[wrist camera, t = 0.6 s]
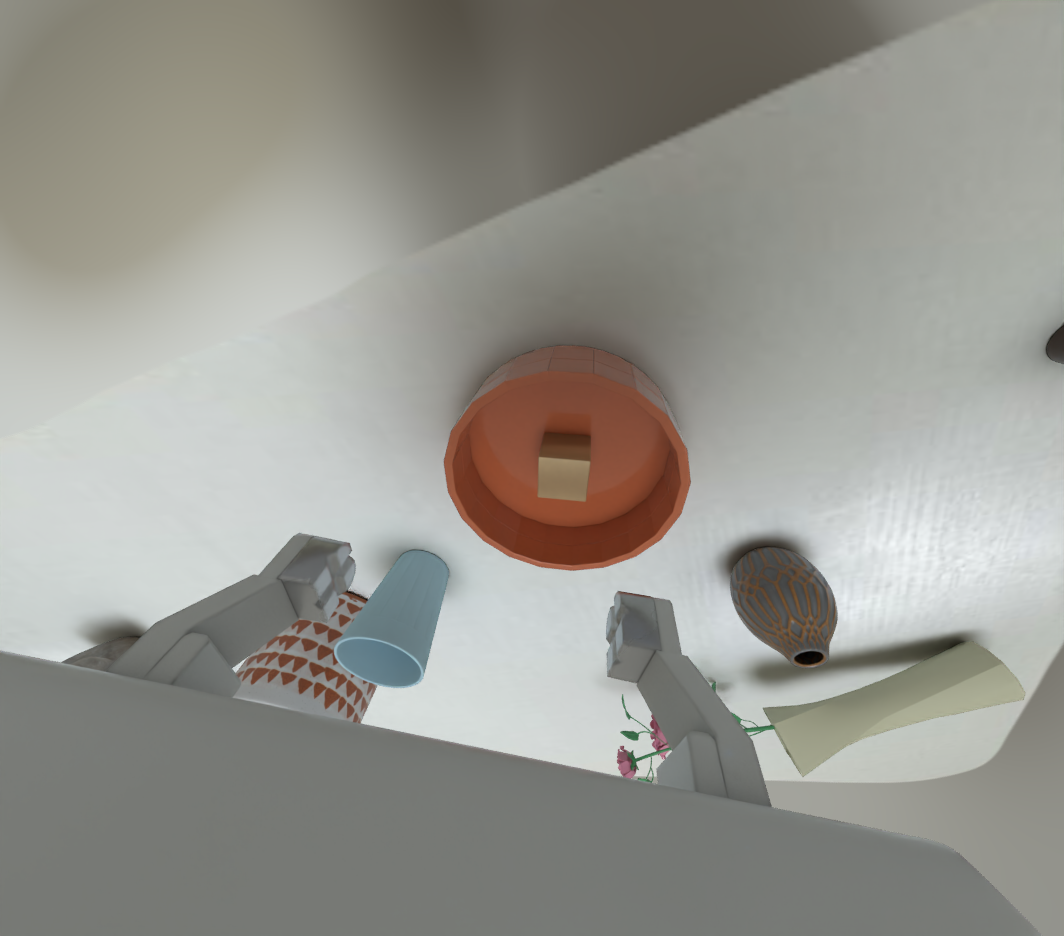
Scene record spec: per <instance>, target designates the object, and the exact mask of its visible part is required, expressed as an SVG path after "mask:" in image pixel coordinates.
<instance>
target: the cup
mask: <svg viewBox="0 0 1064 936" xmlns="http://www.w3.org/2000/svg"><path fill="white" fill-rule="evenodd" d="M448 576H449V571H448V568H447V566H446V565H445V563H444V562H443V561H442V560H441V559H440V558H438V557H437V556H435V555H433V554H431V553H429V552H425V551H420V550H412V551H408V552H405V553H404V554H402V555H401V556H400V557H399V559H398V560H397V561H396V563H395V564H394V566H393V567H392V568H391V570H390V571H389V572H388V574H387V575H386V576H385V578H384V579H383V581H382V582H381V583H380V585H379V586H378V587H377V589H376V590H375V592H374V593H373V594H372V596H371V597H370V599H369V600H368V601H367V603H366V604H365V605H364V607H363V608H362V610H361V611H360V612H359V614H358V615H357V616H356V618H355V619H354V621H353V622H352V623H351V624H350V626H349V627H348V628H347V630H346V631H345V632H344V634H343V635H342V637H341V638H340V639H339V641H338V642H337V643H336V645H335V647H334V655H335V657H336V659H337V661H338V662H339V664H340V665H341V666H342V667H343V668H345V669H346V670H347V671H348V672H350V673H351V674H353V675H355V676H356V677H358V678H360V679H362V680H365V681H367V682H370V683H373V684H376V685H380V686H384V687H391V688H406V687H411V686H414V685H416V684H418V683H419V682H420V681H421V680H422V679H423V677H424V673H425V669H426V665H427V661H428V657H429V653H430V649H431V645H432V641H433V637H434V633H435V629H436V625H437V621H438V617H439V613H440V609H441V605H442V601H443V597H444V593H445V589H446V585H447V581H448Z"/></svg>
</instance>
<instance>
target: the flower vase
mask: <svg viewBox="0 0 1064 936" xmlns="http://www.w3.org/2000/svg"><path fill="white" fill-rule="evenodd" d="M715 688H716V682H714V683H713V684H712V689H713V690H714V691H715ZM1024 696H1025V691H1024V690H1023V688H1022V686H1021V684H1020V682H1019V680H1018V679H1017V678H1016V677H1015V675H1014V674H1013V673H1012V672H1011V671H1010V670H1009V669H1008V668H1007V666H1006V665H1005V664H1004V663H1003V662H1002V661H1001V660H999V659H998V658H997V657H996V656H994V655H993V654H992V653H991V652H990V651H988V650H987V649H985V648H984V647H982V646H980V645H978V644H976V643H974V642H963V643H961V644H959V645H956V646H954V647H952V648H950V649H948V650H946V651H944V652H942V653H940V654H937V655H935V656H933V657H931V658H929V659H927V660H925V661H923V662H921V663H918V664H916V665H914V666H912V667H910V668H908V669H906V670H904V671H902V672H899V673H897V674H895V675H892V676H890V677H888V678H885V679H883V680H881V681H878V682H875V683H873V684H870V685H868V686H865V687H863V688H860V689H857V690H854V691H851V692H848V693H845V694H842V695H839V696H836V697H833V698H829V699H826V700H822V701H818V702H814V703H808V704H802V705H795V706H781V707H766V708H763V710H764V712H765V714H766V716H767V717H768V719H769V721H770V722H771V724H772V725H770V726H762V727H758V726H757V725H756V724H755V723H754V724H755V725H756V726H757V727H754V728H753V727H752V728H746V727H744V726H743V725H741V724H740V722H741V720H742V719H740V718H739V717H738V716H736V715H735V714H733V713H732V715H733V716H734V717H735V719H736V720H737V721H738V723H739V724H740V725H741V726H743V727H744V728H746V729H744V730H745V732H755V731H760V732H758V733H761V732H763V731H765V730H771V729H774V730H775V732H776V734H777V736H778V737H779V739H780V741H781V743H782V745H783V747H784V749H785V750H786V752H787V754H788V755H789V756H790V758H791V759H792V761H793V763H794V764H795V766H796V768H797V769H798V771H799V772H800V774H801V775H802V776H803V777H804V776H805V775H807V774H808V773H809V772H811V771H812V770H813V769H815V768H816V767H818V766H819V765H820V764H822V763H823V762H825V761H826V760H827V759H829V758H830V757H831V756H833V755H834V754H836V753H837V752H839V751H840V750H842V749H843V748H845V747H846V746H848V745H851V744H853V743H855V742H857V741H859V740H862V739H864V738H867V737H870V736H873V735H876V734H880V733H883V732H886V731H889V730H892V729H896V728H900V727H903V726H907V725H911V724H914V723H918V722H922V721H926V720H929V719H933V718H938V717H943V716H949V715H955V714H959V713H964V712H968V711H972V710H976V709H981V708H986V707H991V706H995V705H1000V704H1005V703H1010V702H1015V701H1020V700H1024ZM622 703H623V707H624V709H625V712H626V716H627V717H628V719H630V718H632V717H631V716H630V715H629V713H628V712H627V711H626V708H625V704H624V699H623V694H622ZM651 717H652V719H653V720H652V721H651V722H650V726H651V728H652V729H654V731H652V732H651V731H650V730H649V729H647V728H646V727H645V726H644V725H642V724H641V723H640V722H638V721H637V720H635V719H634V718H632V719H634V720H635V721H637V722H638V723H640V724H641V725H642V726H644V727H645V728H646V729H647V730H649V731H650V732H651V733H650V732H647V731H642V732H647V733H650V737H651V739H655V741H653V743H652V746H653V747H654V748H655V749H656V750H657V751H656V752H653V753H650V754H648V755H645V756H642V757H639V758H637V759H635V757H634V755H633V750H632V752H631V753H630V752H629V751H627V750H624V746H620V749H621V750H622V751H624V752H620V751H619V749H618V756H617V758H618V760H617V763H618V764H619V767H618V769H619V770H621V772H620V773H621V774H622V775H623V777H625V778H630V779H631V778H632V777H633V776H634V775H635V773H636V769H638V767H637V765H636V762H637V761H640V760H642V759H645V758H648V757H651V756H654V755H657V754H658V755H659V754H660V756H661V757H662V759H663V757H664V759H666V757H665V754H666V753H667V752H668V751H669V750H671V748H670V746H669V744H668V742H667V740H666V739H665V737H664V735H663V733H662V731H661V729H660V727H659V726H658V724H657V722H656V720H655V718H654V716H653V714H652V715H651ZM743 721H746V720H743ZM749 722H751V721H749ZM752 723H753V722H752ZM642 732H639V733H636V732H634V731H622V732H620V733H622V734H623V735H624V736H626V737H627V738H629V739H631V740H638V736H639V734H640V733H642ZM758 733H755V734H758ZM755 734H753V735H755ZM750 736H752V735H750ZM750 736H749V737H750ZM651 765H652V757H651ZM638 770H639V769H638ZM650 770H652V768H651V766H650ZM650 770H649V773H650ZM649 773H648V775H649ZM652 774H653V771H652ZM648 775H647V777H648ZM647 777H646V779H647ZM646 779H640V778H638V780H640V781H645V782H650V783H652V781H653V778H652V781H649V780H648V779H647V780H646Z"/></svg>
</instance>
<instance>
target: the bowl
mask: <svg viewBox="0 0 1064 936" xmlns="http://www.w3.org/2000/svg"><path fill="white" fill-rule="evenodd" d="M545 432H546V433H559V434H572V435H585V436H591V463H590V472H589V480H588V488H587V497H586V501H585V502H583V501H573V500H562V499H551V498H541V497H538V496H537V494H538V457H539V453H540V448H541V444H542V439H543V435H544V433H545ZM444 467H445V474H446V481H447V488H448V493H449V495H450V497H451V499H452V501H453V502H454V504H455V506H456V508H457V510H458V512H459V514H460V516H461V518H462V519H463V520H464V521H465V522H466V523H467V524H468V525H469V526H470V527H471V528H472V529H473V531H474V532H475V533H476V534H477V535H478V536H479V537H480V538H481V539H482V540H483V541H485V542H486V543H488V544H490V545H491V546H493V547H495V548H496V549H498V550H499V551H501V552H503V553H504V554H506V555H508V556H509V557H512V558H515V559H518V560H521V561H524V562H527V563H530V564H533V565H535V566H538V567H544V568H553V569H562V570H570V571H572V570H573V571H574V570H584V569H594V568H604V567H607V566H610V565H613V564H616V563H619V562H622V561H625V560H627V559H630V558H633V557H636V556H637V555H639V554H640V553H642V552H643V551H645V550H646V549H648V548H649V547H651V546H652V545H654V544H655V543H657V542H658V541H660V540H661V539H662V538H663V537H664V535H665V534H666V533H667V531H668V530H669V529H670V528H671V526H672V525H673V524H674V523H675V521H676V520H677V519H678V517H679V516H680V515H681V513H682V510H683V506H684V503H685V500H686V497H687V494H688V490H689V487H690V483H691V480H690V471H689V461H688V452H687V448H686V445H685V443H684V440H683V437H682V435H681V432H680V430H679V427H678V424H677V422H676V419H675V417H674V415H673V413H672V411H671V409H670V407H669V405H668V403H667V401H666V399H665V397H664V396H663V394H662V393H661V391H660V389H659V388H658V387H657V386H656V384H655V383H654V382H653V381H652V380H651V379H650V378H649V377H648V376H647V375H646V374H645V373H643V372H642V371H641V370H640V369H638V368H637V367H636V366H635V365H633V364H631V363H629V362H628V361H626V360H624V359H623V358H621V357H618V356H616V355H613V354H611V353H609V352H606V351H602V350H598V349H595V348H591V347H583V346H574V345H572V346H552V347H546V348H541V349H537V350H533V351H530V352H527V353H525V354H522V355H520V356H518V357H515V358H513V359H512V360H510V361H509V362H507V363H505V364H504V365H502V366H501V367H499V368H498V369H497V370H496V371H495V372H493V373H492V374H491V375H490V376H488V377H487V379H486V380H485V381H484V383H483V384H482V385H481V387H480V388H479V390H478V391H477V392H476V394H475V395H474V397H473V398H472V399H471V401H470V402H469V404H468V405H467V407H466V408H465V410H464V412H463V413H462V415H461V416H460V418H459V419H458V421H457V423H456V424H455V426H454V427H453V429H452V431H451V434H450V438H449V442H448V446H447V450H446V454H445V458H444Z"/></svg>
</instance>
